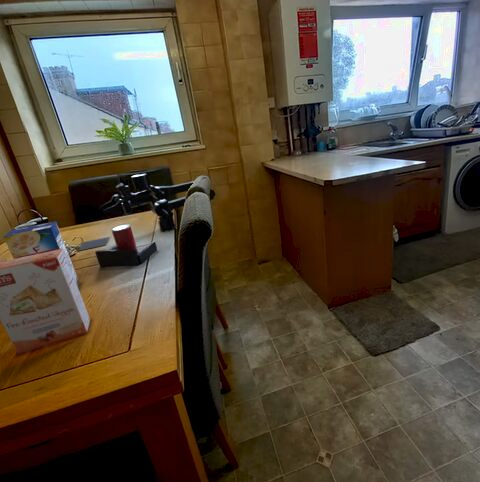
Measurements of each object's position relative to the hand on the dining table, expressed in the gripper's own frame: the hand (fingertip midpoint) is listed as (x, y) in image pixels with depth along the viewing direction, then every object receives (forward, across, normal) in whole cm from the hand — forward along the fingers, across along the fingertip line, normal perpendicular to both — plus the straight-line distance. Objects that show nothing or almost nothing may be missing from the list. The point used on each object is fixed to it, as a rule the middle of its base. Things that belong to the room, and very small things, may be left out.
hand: (101, 209), depth 117 cm
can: (-1, +24, +16) cm, 28 cm away
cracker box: (+24, +57, +15) cm, 64 cm away
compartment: (-1, +24, +17) cm, 29 cm away
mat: (+7, -10, +16) cm, 20 cm away
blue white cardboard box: (+23, +32, +15) cm, 42 cm away
